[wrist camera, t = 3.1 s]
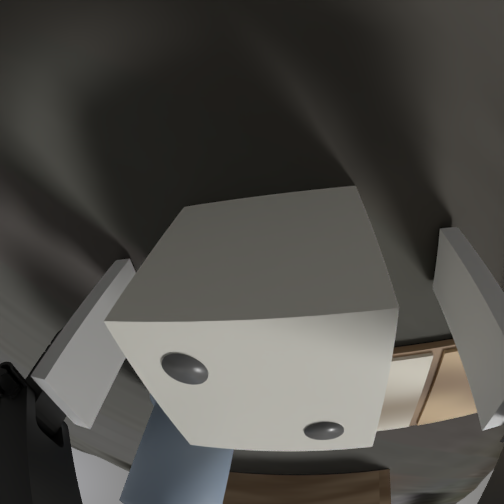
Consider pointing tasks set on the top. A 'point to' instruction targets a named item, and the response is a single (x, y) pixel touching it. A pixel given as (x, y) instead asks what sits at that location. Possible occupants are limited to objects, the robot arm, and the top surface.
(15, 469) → the robot arm
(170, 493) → the pawn
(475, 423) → the top surface
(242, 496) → the creature pen
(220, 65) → the top surface
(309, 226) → the die
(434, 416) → the board
